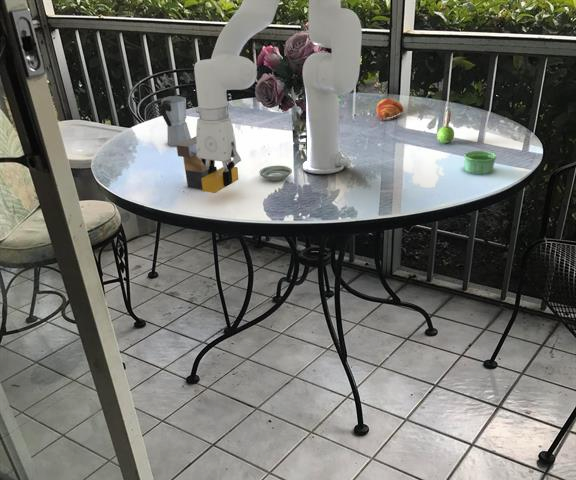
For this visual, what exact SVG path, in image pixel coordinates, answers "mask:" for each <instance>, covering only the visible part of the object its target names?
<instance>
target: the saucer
mask: <svg viewBox="0 0 576 480" xmlns="http://www.w3.org/2000/svg"><path fill="white" fill-rule="evenodd" d="M258 172H259V176H261V177H262V178H264V179H266V180H268V181H269V182H282V181H283V180H285V179H286V178H288V177H289V176H290V175H291V174H292V173H293V169H292V168H291V167H289V166H287V165H269V166H266V167H263V168H261V169H260V170H259V171H258Z"/></svg>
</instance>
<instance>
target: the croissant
mask: <svg viewBox="0 0 576 480" xmlns="http://www.w3.org/2000/svg"><path fill="white" fill-rule="evenodd" d="M375 109H376V110H375V112H376V116H377V115H378V116H377V117H379V118H381V119H379V118H378V119H379V120H380V121H392V120H394V119H396V118H398V117H399V116H400V115H398V116H396V117H393V118H390V119H384V118H387V117H392V116H394V115H397V114H399V113H401V112H402V113H403V112H404V106H403V104H402V103H401V102H400V101H399V100H396V99H394V98H391V97H388V98H384V99H381V100H379V101H378V103H377V105H376V108H375ZM402 113H401V114H402ZM382 119H383V120H382Z"/></svg>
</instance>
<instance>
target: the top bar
mask: <svg viewBox="0 0 576 480" xmlns="http://www.w3.org/2000/svg"><path fill="white" fill-rule="evenodd" d="M223 172H224V168H223V166H222V167H220V168H217V170H216V171H215V172H213V173H211V174H209V175H207V176H205V177H203V178H201V179H202V188H203V189H202V192H206V193H211V194H216V193H218V192H220V191H221V190H223V189H225V188H227V187H228V186H224V181H223ZM231 172H232V184H234V183H235V182H237V181H239V169H238V166H234V167H233V169H231Z"/></svg>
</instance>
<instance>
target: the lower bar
mask: <svg viewBox="0 0 576 480" xmlns="http://www.w3.org/2000/svg"><path fill="white" fill-rule="evenodd" d="M176 146H177V147H176ZM176 146H175V147H176V152H177V157H181V158H183V157H188V158H190V157H192V156H194V155H196V153H197V137H196V136H194V137H191V139H189V140H187V141H185V142H183V143H180V144H178V145H176Z"/></svg>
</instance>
